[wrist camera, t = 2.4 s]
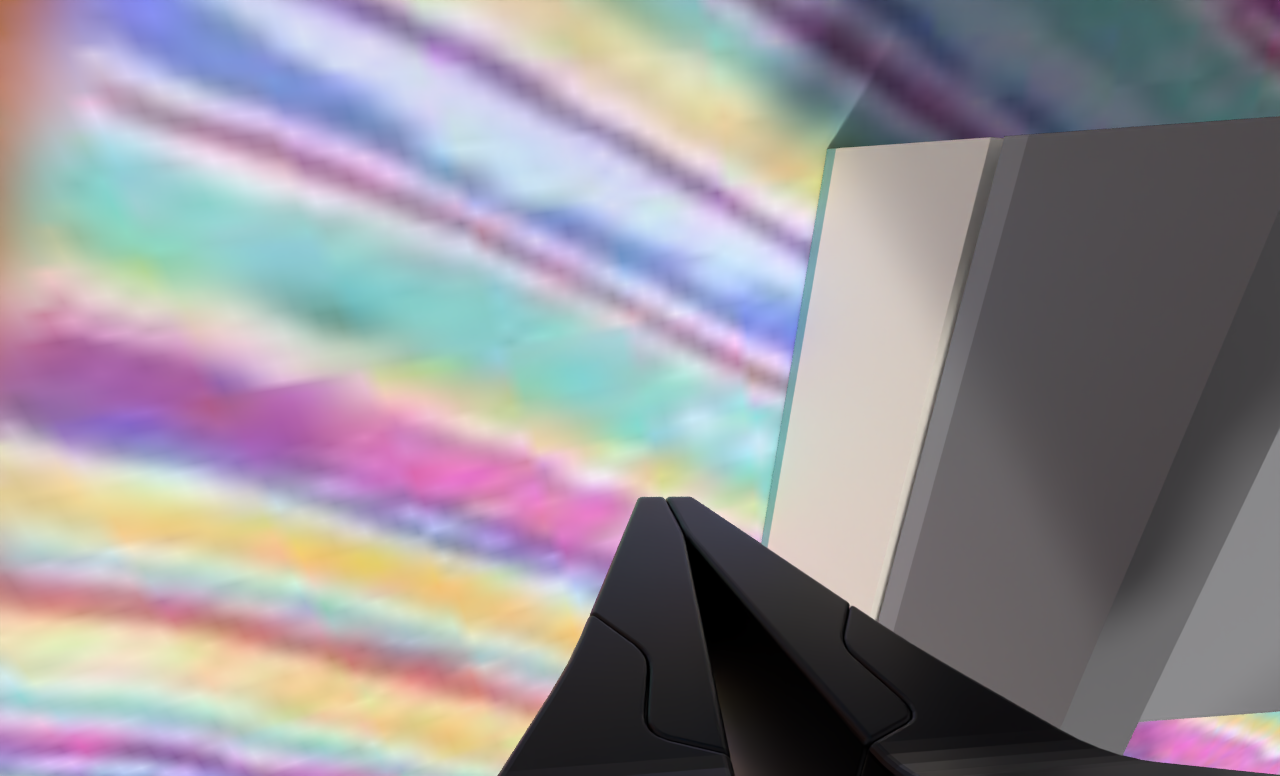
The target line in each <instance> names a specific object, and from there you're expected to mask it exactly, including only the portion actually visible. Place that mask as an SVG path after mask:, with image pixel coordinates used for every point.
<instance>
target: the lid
mask: <svg viewBox="0 0 1280 776" xmlns="http://www.w3.org/2000/svg"><path fill="white" fill-rule="evenodd" d="M878 622H879V623H880V624H882V625H883V626H885V627H887V628H888V629H890V630H891V631H893V632H894V633H896V634H897V635H899V636H901V637H902V638H904V639H905V640H907V641H908V642H910V643H912V644H913V645H915V646H917V647H918V648H920V649H922V650H923V651H925V652H927V653H928V654H930V655H932V656H933V657H935V658H937V659H939V660H940V661H942V662H944V663H945V664H947V665H949V666H950V667H952V668H954V669H956V670H957V671H959V672H961V673H963V674H964V675H966V676H968V677H970V678H971V679H973V680H975V681H976V682H978V683H980V684H982V685H983V686H985V687H987V688H989V689H990V690H992V691H994V692H996V693H997V694H999V695H1001V696H1003V697H1004V698H1006V699H1008V700H1010V701H1011V702H1013V703H1015V704H1017V705H1018V706H1020V707H1022V708H1024V709H1025V710H1027V711H1029V712H1031V713H1032V714H1034V715H1036V716H1038V717H1039V718H1041V719H1043V720H1045V721H1046V722H1048V723H1050V724H1051V725H1053V726H1055V727H1057V728H1059V729H1060V730H1062V731H1064V732H1066V733H1068V734H1070V735H1072V736H1074V737H1075V738H1077V739H1080V740H1082V741H1084V742H1087V743H1089V744H1091V745H1094V746H1096V747H1098V748H1101V749H1104V750H1107V751H1110V752H1113V753H1116V754H1119V755H1123V753H1124V751H1125V749H1126V747H1127V745H1128V743H1129V741H1130V739H1131V737H1132V734H1133V732H1134V730H1135V728H1136V726H1137V724H1138V722H1143V721H1157V720H1170V719H1184V718H1197V717H1210V716H1224V715H1237V714H1251V713H1264V712H1277V711H1280V116H1279V117H1265V118H1251V119H1237V120H1223V121H1209V122H1195V123H1181V124H1168V125H1154V126H1140V127H1126V128H1112V129H1098V130H1084V131H1071V132H1057V133H1043V134H1029V135H1015V136H1004V140H1003V144H1002V147H1001V151H1000V155H999V159H998V163H997V167H996V171H995V174H994V178H993V182H992V186H991V190H990V194H989V197H988V201H987V205H986V209H985V213H984V217H983V220H982V224H981V228H980V232H979V236H978V240H977V244H976V247H975V251H974V255H973V259H972V263H971V267H970V270H969V274H968V278H967V282H966V286H965V290H964V294H963V297H962V301H961V305H960V309H959V313H958V317H957V320H956V324H955V328H954V332H953V336H952V340H951V344H950V347H949V351H948V355H947V359H946V363H945V367H944V370H943V374H942V378H941V382H940V386H939V390H938V394H937V397H936V401H935V405H934V409H933V413H932V417H931V420H930V424H929V428H928V432H927V436H926V440H925V444H924V447H923V451H922V455H921V459H920V463H919V467H918V470H917V474H916V478H915V482H914V486H913V490H912V494H911V497H910V501H909V505H908V509H907V513H906V517H905V520H904V524H903V528H902V532H901V536H900V540H899V544H898V547H897V551H896V555H895V559H894V563H893V567H892V570H891V574H890V578H889V582H888V586H887V590H886V594H885V597H884V601H883V605H882V609H881V613H880V617H879V620H878Z"/></svg>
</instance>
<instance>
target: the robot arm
mask: <svg viewBox="0 0 1280 776" xmlns="http://www.w3.org/2000/svg"><path fill="white" fill-rule="evenodd" d="M849 607H850V604H849V603H848V602H847V601H846V600H844V599H843V598H841V597H840V596H838V595H837V594H835V593H834V592H832V591H831V590H829V589H828V588H826V587H825V586H823V585H822V584H820V583H819V582H817V581H816V580H814V579H813V578H811V577H810V576H808V575H807V574H806V573H804V572H803V571H801V570H800V569H798V568H797V567H795V566H794V565H792V564H791V563H789V562H788V561H786V560H785V559H783V558H782V557H780V556H779V555H777V554H776V553H774V552H773V551H771V550H770V549H768V548H767V547H765V546H764V545H762V544H761V543H759V542H758V541H756V540H755V539H753V538H752V537H750V536H749V535H747V534H746V533H744V532H743V531H741V530H740V529H739V528H737V527H736V526H734V525H733V524H731V523H730V522H728V521H727V520H725V519H724V518H722V517H721V516H719V515H718V514H716V513H715V512H713V511H712V510H710V509H709V508H707V507H706V506H704V505H703V504H701V503H700V502H698V501H697V500H695V499H694V498H692V497H668V498H667V499H666V500H665V499H664V498H663V497H640V498H639V499H638V500H637V502H636V505H635V507H634V510H633V512H632V514H631V517H630V519H629V522H628V524H627V527H626V529H625V531H624V534H623V536H622V539H621V541H620V543H619V546H618V548H617V551H616V553H615V556H614V558H613V560H612V563H611V565H610V568H609V570H608V572H607V575H606V577H605V580H604V582H603V585H602V587H601V589H600V592H599V594H598V597H597V599H596V601H595V604H594V606H593V609H592V611H591V614H590V617H589V618H588V620H587V622H586V625H585V627H584V630H583V632H582V634H581V637H580V639H579V641H578V643H577V645H576V647H575V649H574V651H573V654H572V656H571V658H570V660H569V662H568V664H567V666H566V667H565V669H564V671H563V672H562V674H561V676H560V678H559V679H558V681H557V683H556V684H555V686H554V688H553V690H552V691H551V693H550V695H549V696H548V698H547V699H546V701H545V702H544V704H543V705H542V707H541V709H540V710H539V712H538V713H537V715H536V716H535V718H534V720H533V721H532V723H531V724H530V726H529V727H528V729H527V731H526V732H525V734H524V735H523V737H522V738H521V740H520V741H519V743H518V745H517V746H516V748H515V749H514V751H513V752H512V754H511V756H510V757H509V759H508V760H507V762H506V763H505V765H504V767H503V768H502V770H501V771H500V773H499V774H498V776H1280V775H1275V774H1265V773H1255V772H1246V771H1236V770H1227V769H1217V768H1208V767H1198V766H1188V765H1179V764H1169V763H1160V762H1152V761H1145V760H1140V759H1136V758H1131V757H1127V756H1123V755H1119V754H1116V753H1113V752H1110V751H1107V750H1104V749H1101V748H1098V747H1096V746H1094V745H1091V744H1089V743H1087V742H1084V741H1082V740H1080V739H1077V738H1075V737H1074V736H1072V735H1070V734H1068V733H1066V732H1064V731H1062V730H1060V729H1059V728H1057V727H1055V726H1053V725H1051V724H1050V723H1048V722H1046V721H1045V720H1043V719H1041V718H1039V717H1038V716H1036V715H1034V714H1032V713H1031V712H1029V711H1027V710H1025V709H1024V708H1022V707H1020V706H1018V705H1017V704H1015V703H1013V702H1011V701H1010V700H1008V699H1006V698H1004V697H1003V696H1001V695H999V694H997V693H996V692H994V691H992V690H990V689H989V688H987V687H985V686H983V685H982V684H980V683H978V682H976V681H975V680H973V679H971V678H970V677H968V676H966V675H964V674H963V673H961V672H959V671H957V670H956V669H954V668H952V667H950V666H949V665H947V664H945V663H944V662H942V661H940V660H939V659H937V658H935V657H933V656H932V655H930V654H928V653H927V652H925V651H923V650H922V649H920V648H918V647H917V646H915V645H913V644H912V643H910V642H908V641H907V640H905V639H904V638H902V637H901V636H899V635H897V634H896V633H894V632H893V631H891V630H890V629H888V628H887V627H885V626H883V625H882V624H880V623H879V622H877V621H876V620H874V619H873V618H871V617H870V616H868V615H867V614H865V613H864V612H862V611H861V610H859V609H858V608H856V607H855V606H851V607H850V608H849Z"/></svg>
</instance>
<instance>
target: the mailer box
mask: <svg viewBox="0 0 1280 776" xmlns="http://www.w3.org/2000/svg"><path fill="white" fill-rule="evenodd" d="M1003 140H1004V138H994V137H987V138H973V139H960V140H946V141H932V142H918V143H904V144H890V145H876V146H862V147H849V148H835V149H827V154H826V160H825V166H824V172H823V178H822V184H821V190H820V196H819V202H818V208H817V214H816V220H815V226H814V232H813V238H812V244H811V250H810V256H809V262H808V268H807V273H806V279H805V285H804V291H803V297H802V303H801V309H800V315H799V321H798V327H797V333H796V339H795V345H794V351H793V357H792V363H791V369H790V375H789V381H788V387H787V393H786V399H785V405H784V411H783V417H782V423H781V429H780V435H779V441H778V447H777V453H776V459H775V465H774V471H773V477H772V483H771V489H770V495H769V501H768V507H767V513H766V519H765V525H764V531H763V537H762V543H761V544H762V545H764V546H765V547H767V548H768V549H770V550H771V551H773V552H774V553H776V554H777V555H779V556H780V557H782V558H783V559H785V560H786V561H788V562H789V563H791V564H792V565H794V566H795V567H797V568H798V569H800V570H801V571H803V572H804V573H806V574H807V575H808V576H810V577H811V578H813V579H814V580H816V581H817V582H819V583H820V584H822V585H823V586H825V587H826V588H828V589H829V590H831V591H832V592H834V593H835V594H837V595H838V596H840V597H841V598H843V599H844V600H846V601H847V602H848V603H849V604H850V607H851V606H855V607H856V608H858V609H859V610H861V611H862V612H864V613H865V614H867V615H868V616H870V617H871V618H873V619H874V620H876V621H877V622H878V620H879V617H880V613H881V609H882V605H883V601H884V597H885V594H886V590H887V586H888V582H889V578H890V574H891V570H892V567H893V563H894V559H895V555H896V551H897V547H898V544H899V540H900V536H901V532H902V528H903V524H904V520H905V517H906V513H907V509H908V505H909V501H910V497H911V494H912V490H913V486H914V482H915V478H916V474H917V470H918V467H919V463H920V459H921V455H922V451H923V447H924V444H925V440H926V436H927V432H928V428H929V424H930V420H931V417H932V413H933V409H934V405H935V401H936V397H937V394H938V390H939V386H940V382H941V378H942V374H943V370H944V367H945V363H946V359H947V355H948V351H949V347H950V344H951V340H952V336H953V332H954V328H955V324H956V320H957V317H958V313H959V309H960V305H961V301H962V297H963V294H964V290H965V286H966V282H967V278H968V274H969V270H970V267H971V263H972V259H973V255H974V251H975V247H976V244H977V240H978V236H979V232H980V228H981V224H982V220H983V217H984V213H985V209H986V205H987V201H988V197H989V194H990V190H991V186H992V182H993V178H994V174H995V171H996V167H997V163H998V159H999V155H1000V151H1001V147H1002V144H1003ZM850 607H849V608H850Z"/></svg>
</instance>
